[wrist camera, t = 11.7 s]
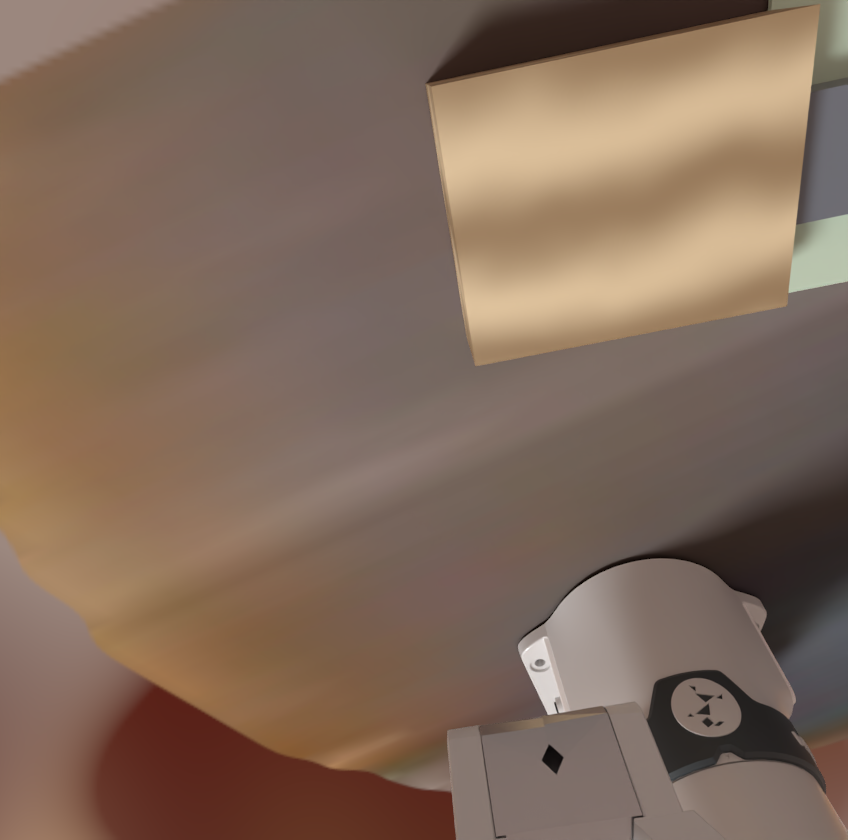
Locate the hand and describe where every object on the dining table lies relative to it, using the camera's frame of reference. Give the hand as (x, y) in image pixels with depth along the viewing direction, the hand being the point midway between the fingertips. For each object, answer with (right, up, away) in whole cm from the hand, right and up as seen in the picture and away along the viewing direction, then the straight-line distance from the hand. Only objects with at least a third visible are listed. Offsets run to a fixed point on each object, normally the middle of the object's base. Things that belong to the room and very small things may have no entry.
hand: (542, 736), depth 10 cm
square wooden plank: (+7, +17, +23) cm, 29 cm away
